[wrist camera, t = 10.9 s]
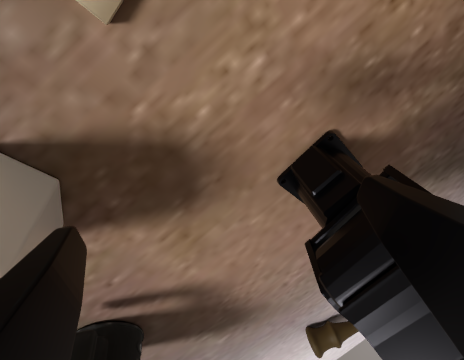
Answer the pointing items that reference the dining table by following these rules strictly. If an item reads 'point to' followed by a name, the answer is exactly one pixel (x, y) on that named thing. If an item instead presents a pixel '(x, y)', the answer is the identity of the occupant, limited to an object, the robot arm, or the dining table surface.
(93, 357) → the milk frother
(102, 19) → the knob on square plate
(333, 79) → the dining table surface
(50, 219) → the jar
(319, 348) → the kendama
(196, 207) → the dining table surface
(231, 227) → the dining table surface
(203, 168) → the dining table surface
